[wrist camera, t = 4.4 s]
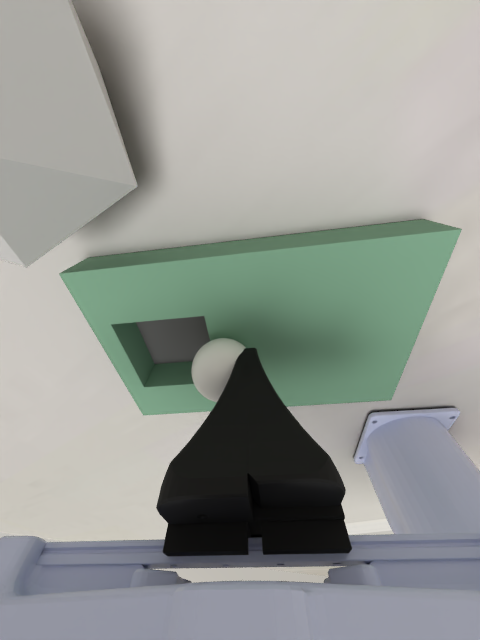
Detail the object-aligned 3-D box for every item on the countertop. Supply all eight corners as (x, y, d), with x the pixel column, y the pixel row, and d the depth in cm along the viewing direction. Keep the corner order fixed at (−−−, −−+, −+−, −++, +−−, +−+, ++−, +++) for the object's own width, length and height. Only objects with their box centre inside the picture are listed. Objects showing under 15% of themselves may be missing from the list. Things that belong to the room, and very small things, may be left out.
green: (374, 374, 19) (391, 400, 16) (153, 389, 20) (143, 415, 18) (423, 219, 12) (461, 229, 10) (87, 257, 13) (59, 273, 11)
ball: (191, 387, 14) (234, 356, 15) (221, 428, 12) (270, 388, 13) (171, 348, 12) (224, 317, 13) (204, 390, 9) (264, 346, 11)
